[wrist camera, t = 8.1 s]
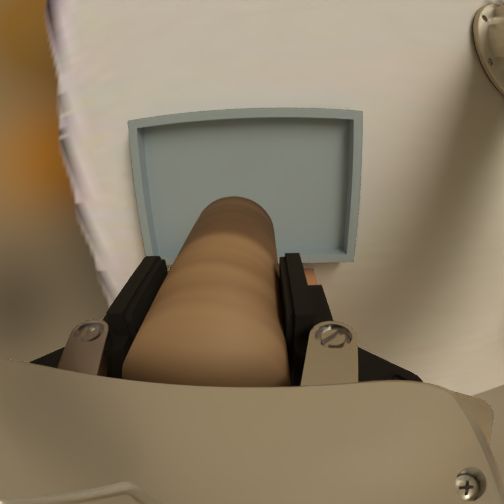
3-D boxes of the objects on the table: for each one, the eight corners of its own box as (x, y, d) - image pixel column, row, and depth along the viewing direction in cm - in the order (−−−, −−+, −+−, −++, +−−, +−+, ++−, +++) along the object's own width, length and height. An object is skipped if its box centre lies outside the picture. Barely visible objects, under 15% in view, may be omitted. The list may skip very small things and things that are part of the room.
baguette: (191, 198, 16) (99, 327, 6) (273, 195, 16) (297, 331, 6) (199, 270, 18) (147, 431, 8) (274, 269, 18) (287, 439, 8)
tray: (138, 119, 26) (127, 120, 24) (354, 111, 25) (362, 111, 23) (155, 254, 32) (147, 265, 29) (347, 250, 31) (353, 261, 29)
